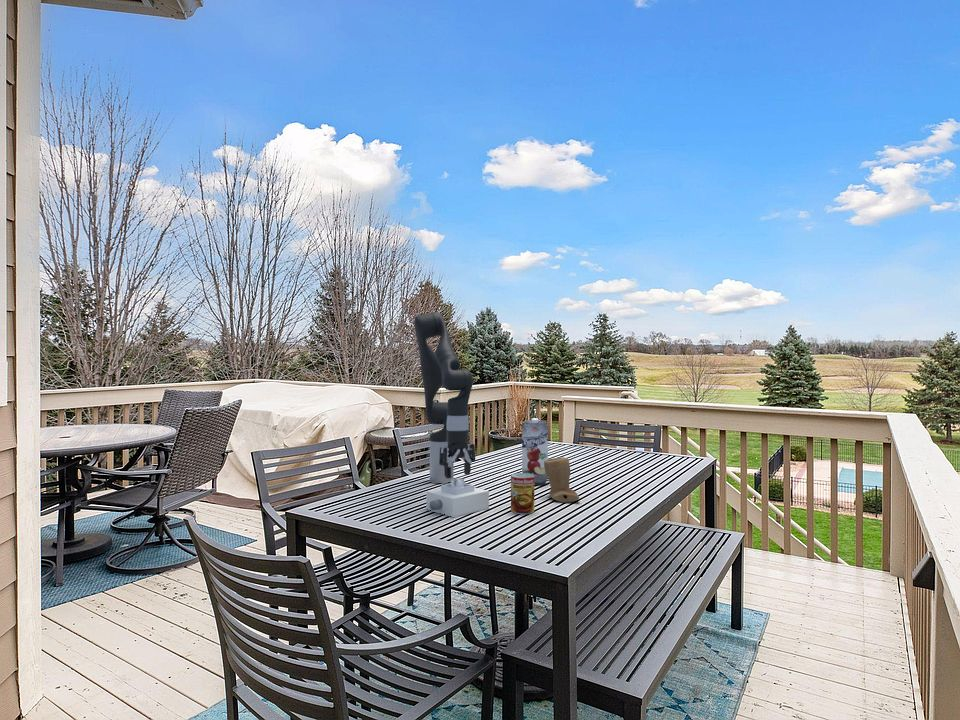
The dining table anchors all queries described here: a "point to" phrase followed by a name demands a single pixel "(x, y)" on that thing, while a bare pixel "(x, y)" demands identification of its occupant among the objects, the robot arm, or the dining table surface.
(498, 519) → the dining table surface
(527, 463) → the juice carton
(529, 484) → the canned food
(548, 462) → the tan suede boot
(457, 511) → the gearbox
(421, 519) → the dining table surface
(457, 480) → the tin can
